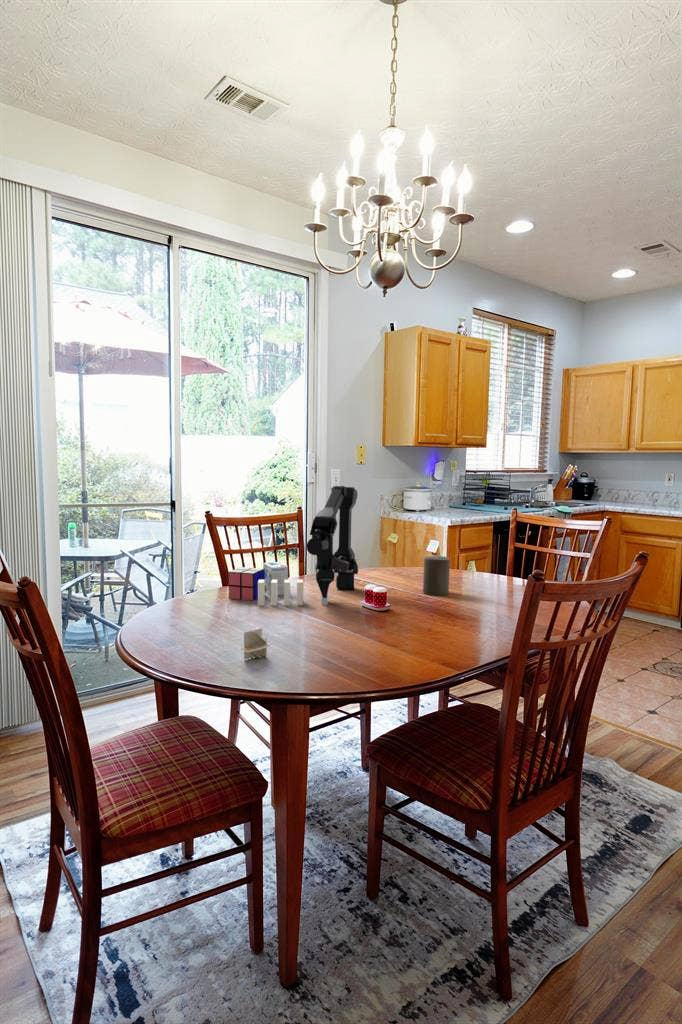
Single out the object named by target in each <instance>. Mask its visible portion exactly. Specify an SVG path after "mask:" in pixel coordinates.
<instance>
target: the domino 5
mask: <svg viewBox="0 0 682 1024" xmlns="http://www.w3.org/2000/svg"><path fill="white" fill-rule="evenodd" d="M320 593H321V592H320ZM328 599H329V598H328V593H327V597H326V598H323V596H322V593H321V605H322V606H328V603H329V602H328Z"/></svg>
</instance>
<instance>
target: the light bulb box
mask: <svg viewBox="0 0 682 1024" xmlns="http://www.w3.org/2000/svg"><path fill="white" fill-rule="evenodd" d="M262 569H265V593H267V594H268V595H269V596H271V581H272V580H278V596H284V580H289V566H288V565H287V564H284V563H282V562H280V561H271V562H263V567H262Z"/></svg>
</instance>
